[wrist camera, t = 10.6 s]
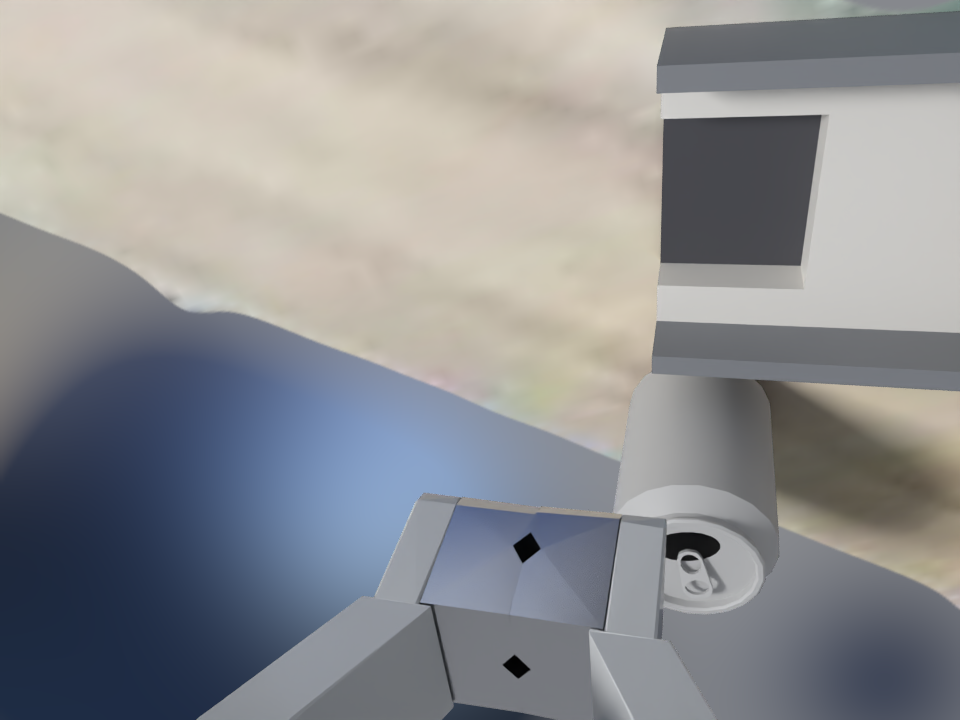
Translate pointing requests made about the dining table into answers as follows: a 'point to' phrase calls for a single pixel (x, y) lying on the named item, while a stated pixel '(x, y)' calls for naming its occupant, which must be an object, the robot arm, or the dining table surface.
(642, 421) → the can
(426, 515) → the robot arm
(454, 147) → the dining table surface
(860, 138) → the box
